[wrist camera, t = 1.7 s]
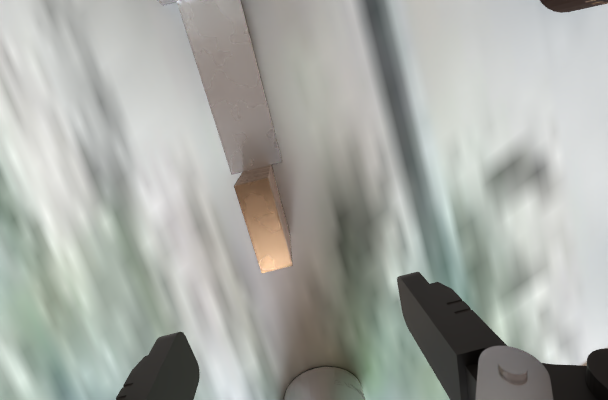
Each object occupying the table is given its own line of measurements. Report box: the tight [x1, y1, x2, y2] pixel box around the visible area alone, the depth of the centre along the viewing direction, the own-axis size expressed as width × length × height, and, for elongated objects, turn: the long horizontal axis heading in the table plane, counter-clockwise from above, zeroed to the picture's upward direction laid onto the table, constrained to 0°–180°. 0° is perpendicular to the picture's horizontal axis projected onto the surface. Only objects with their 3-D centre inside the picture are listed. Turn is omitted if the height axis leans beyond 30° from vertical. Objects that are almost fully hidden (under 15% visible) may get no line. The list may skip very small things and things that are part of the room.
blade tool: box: [157, 0, 293, 273], centre depth 21 cm, size 22×7×6 cm, turn 13°
